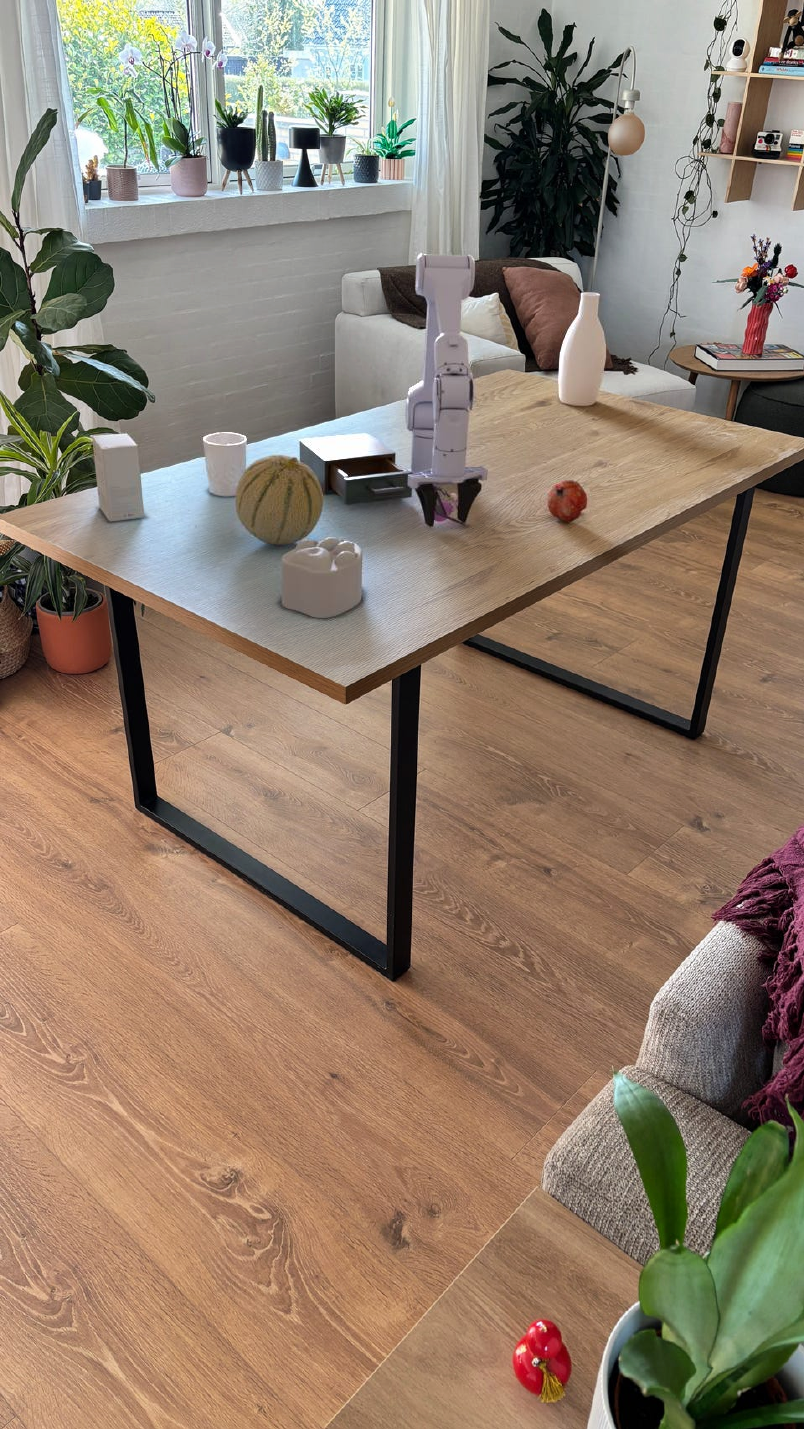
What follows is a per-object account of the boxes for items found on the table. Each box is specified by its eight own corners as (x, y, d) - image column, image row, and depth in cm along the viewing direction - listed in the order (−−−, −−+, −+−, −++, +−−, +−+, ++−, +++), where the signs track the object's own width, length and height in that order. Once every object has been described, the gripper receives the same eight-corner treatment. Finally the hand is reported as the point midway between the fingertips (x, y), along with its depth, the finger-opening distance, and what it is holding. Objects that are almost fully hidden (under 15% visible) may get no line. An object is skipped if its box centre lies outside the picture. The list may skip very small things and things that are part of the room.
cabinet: (394, 486, 212) (395, 453, 208) (324, 494, 206) (324, 460, 203) (366, 465, 222) (367, 433, 219) (299, 472, 217) (299, 439, 213)
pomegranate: (557, 520, 205) (528, 497, 198) (581, 488, 204) (553, 464, 196) (581, 537, 200) (553, 514, 193) (606, 505, 199) (579, 480, 192)
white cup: (240, 499, 202) (238, 447, 197) (200, 495, 203) (196, 442, 198) (253, 486, 208) (252, 434, 203) (214, 482, 210) (211, 430, 205)
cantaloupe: (243, 523, 192) (240, 439, 184) (326, 527, 192) (327, 443, 184) (229, 556, 179) (225, 467, 171) (318, 560, 179) (318, 471, 171)
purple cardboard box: (428, 478, 189) (457, 492, 196) (406, 495, 192) (435, 507, 199) (440, 510, 187) (469, 522, 194) (418, 526, 190) (447, 538, 197)
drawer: (422, 505, 200) (424, 480, 198) (355, 514, 195) (356, 488, 193) (384, 476, 214) (385, 452, 211) (321, 483, 208) (320, 459, 206)
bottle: (554, 405, 267) (566, 296, 254) (556, 394, 276) (567, 288, 263) (599, 409, 265) (614, 299, 252) (600, 397, 275) (614, 291, 262)
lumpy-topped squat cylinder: (272, 603, 164) (271, 549, 160) (324, 575, 174) (324, 524, 169) (327, 622, 159) (327, 567, 155) (377, 592, 169) (379, 540, 164)
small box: (145, 518, 192) (138, 445, 185) (109, 522, 190) (101, 449, 183) (133, 503, 198) (127, 432, 192) (98, 507, 196) (90, 435, 189)
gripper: (421, 458, 179) (418, 535, 186) (498, 449, 184) (492, 525, 191) (403, 445, 184) (400, 521, 191) (478, 438, 190) (473, 512, 197)
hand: (445, 522), depth 192 cm, fingers closed on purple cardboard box, 6 cm apart
